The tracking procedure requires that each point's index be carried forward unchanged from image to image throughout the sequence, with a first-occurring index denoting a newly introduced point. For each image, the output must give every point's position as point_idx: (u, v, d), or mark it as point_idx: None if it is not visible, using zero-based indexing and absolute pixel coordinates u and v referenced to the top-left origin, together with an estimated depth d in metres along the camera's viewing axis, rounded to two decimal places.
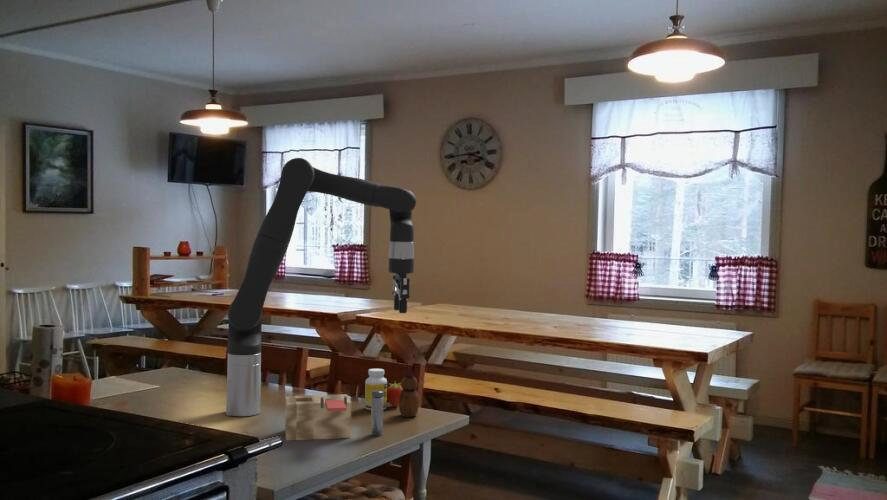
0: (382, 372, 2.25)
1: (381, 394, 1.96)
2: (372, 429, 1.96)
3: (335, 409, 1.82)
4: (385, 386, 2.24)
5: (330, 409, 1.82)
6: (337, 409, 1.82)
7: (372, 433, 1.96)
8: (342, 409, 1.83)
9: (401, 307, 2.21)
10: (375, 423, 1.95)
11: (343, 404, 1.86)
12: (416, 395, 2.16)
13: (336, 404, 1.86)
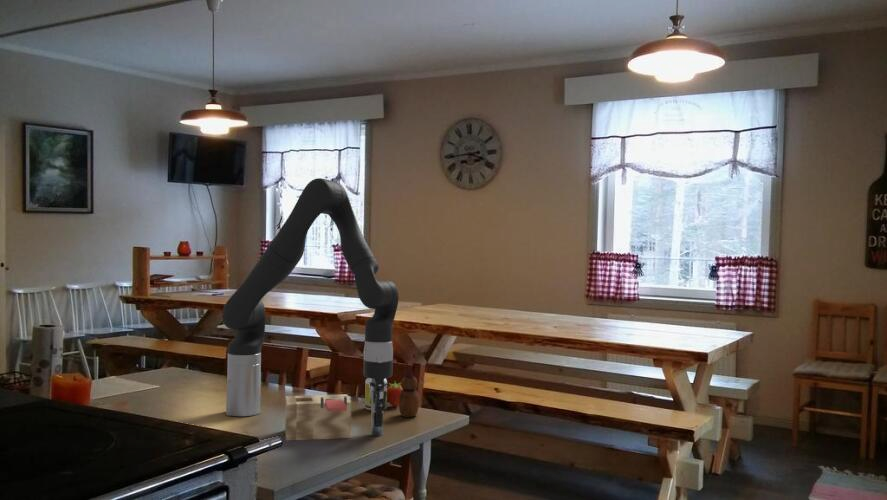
0: None
1: None
2: (372, 429, 1.96)
3: (335, 409, 1.82)
4: None
5: (330, 409, 1.82)
6: (337, 409, 1.82)
7: (372, 433, 1.96)
8: (342, 409, 1.83)
9: (376, 420, 1.94)
10: None
11: (343, 404, 1.86)
12: (416, 395, 2.16)
13: (336, 404, 1.86)
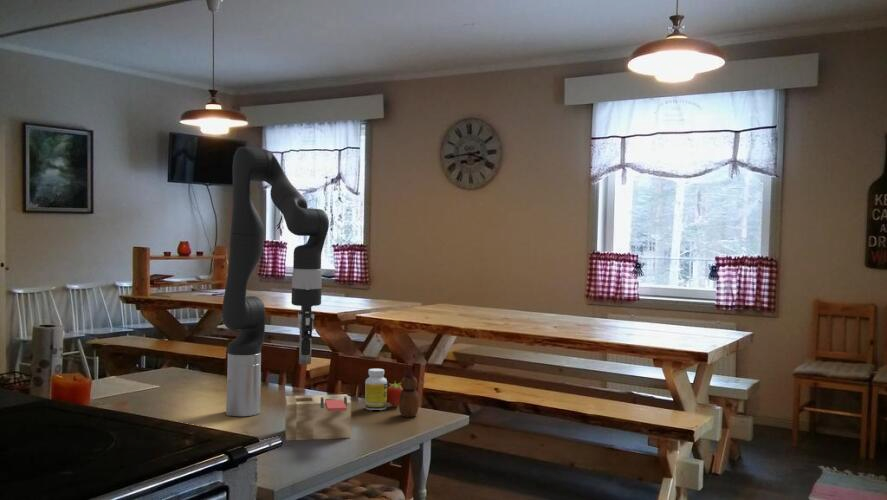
0: (382, 372, 2.24)
1: None
2: (300, 357, 1.94)
3: (335, 409, 1.82)
4: (385, 386, 2.24)
5: (330, 409, 1.82)
6: (337, 409, 1.82)
7: (300, 362, 1.94)
8: (342, 409, 1.83)
9: (303, 348, 1.92)
10: None
11: (343, 404, 1.86)
12: (416, 395, 2.16)
13: (336, 404, 1.86)
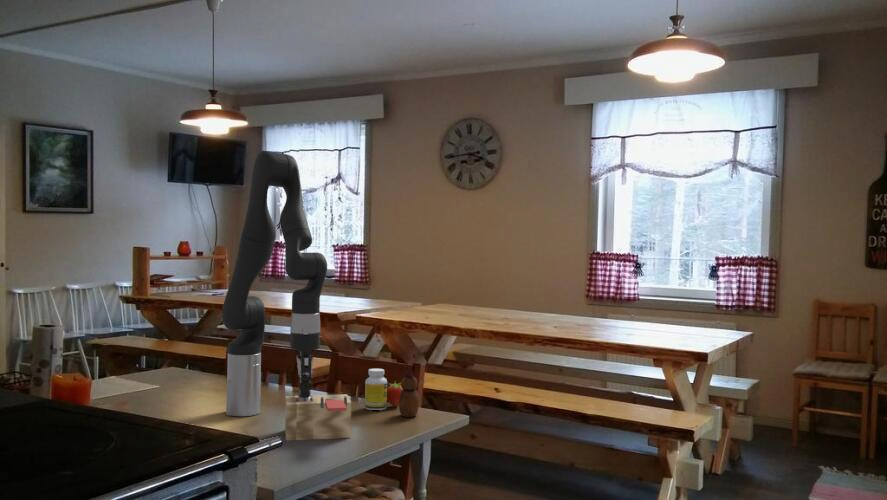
0: (382, 372, 2.25)
1: None
2: None
3: (335, 409, 1.82)
4: (385, 386, 2.24)
5: (330, 409, 1.82)
6: (337, 409, 1.82)
7: None
8: (342, 409, 1.83)
9: (302, 391, 1.90)
10: None
11: (343, 404, 1.86)
12: (416, 395, 2.16)
13: (336, 404, 1.86)
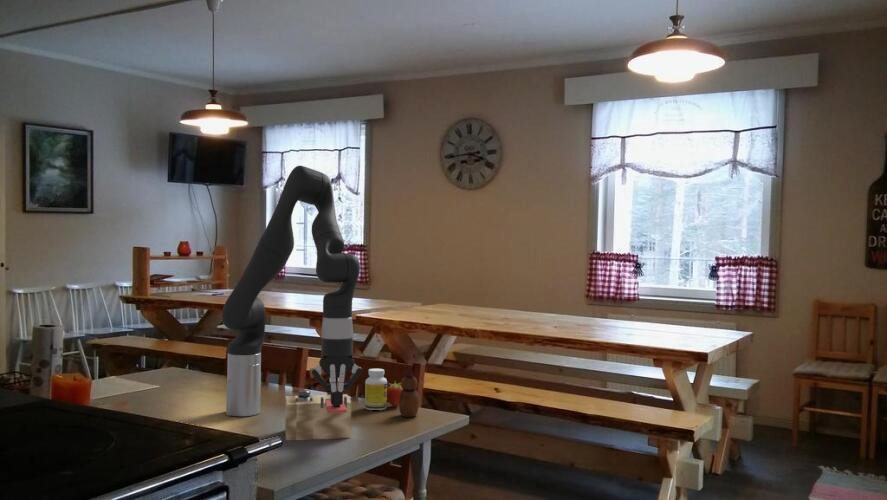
0: (382, 372, 2.25)
1: (307, 394, 1.94)
2: None
3: (335, 411, 1.82)
4: (385, 386, 2.24)
5: (330, 411, 1.82)
6: (337, 411, 1.82)
7: None
8: (342, 411, 1.83)
9: None
10: None
11: (343, 405, 1.86)
12: (416, 395, 2.16)
13: None
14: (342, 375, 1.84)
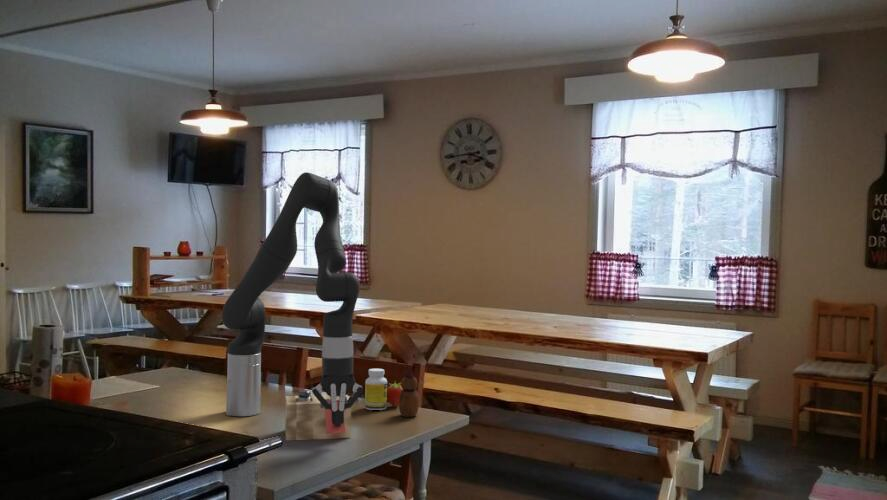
0: (382, 372, 2.25)
1: (308, 394, 1.94)
2: None
3: (334, 432, 1.85)
4: (385, 386, 2.24)
5: (329, 432, 1.84)
6: (336, 432, 1.85)
7: None
8: (341, 432, 1.85)
9: None
10: None
11: None
12: (416, 395, 2.16)
13: None
14: (343, 394, 1.84)
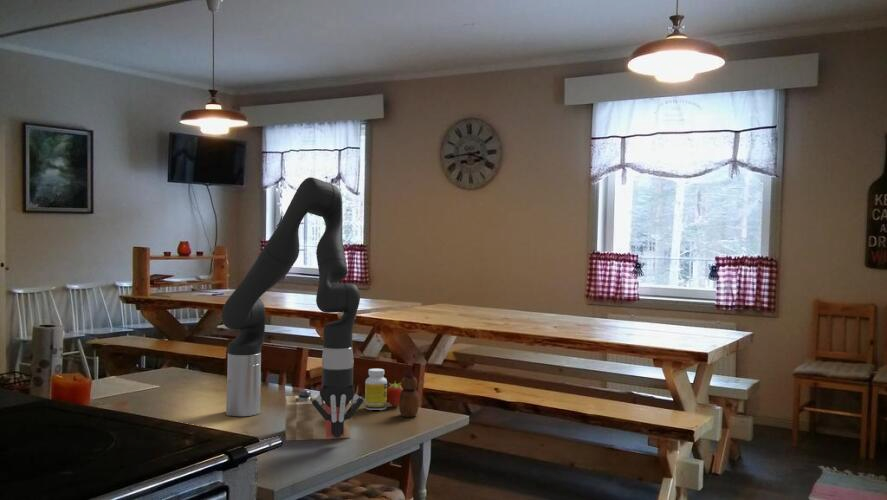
0: (382, 372, 2.25)
1: (308, 394, 1.94)
2: None
3: (333, 436, 1.86)
4: (385, 386, 2.24)
5: (328, 436, 1.86)
6: None
7: None
8: None
9: (331, 429, 1.85)
10: None
11: None
12: (416, 395, 2.16)
13: None
14: (342, 405, 1.84)
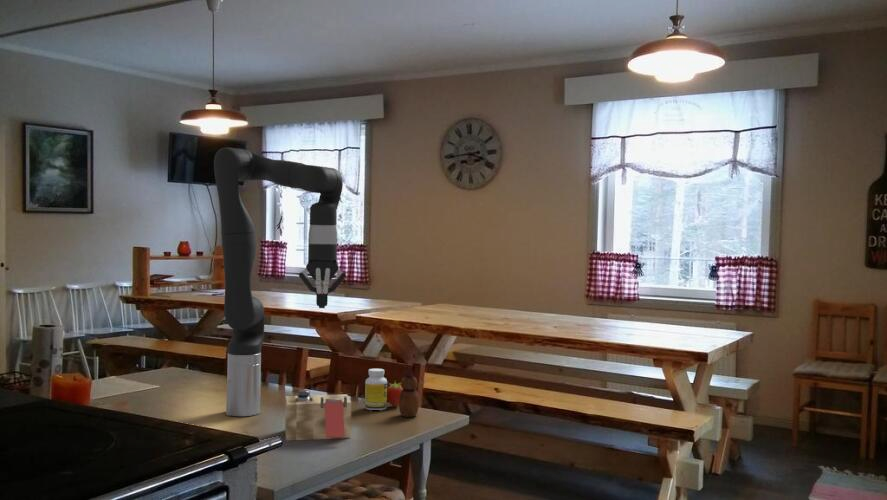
0: (382, 372, 2.25)
1: (307, 394, 1.94)
2: None
3: (333, 436, 1.86)
4: (385, 386, 2.24)
5: (328, 436, 1.86)
6: (335, 436, 1.86)
7: None
8: (340, 436, 1.86)
9: (316, 301, 2.02)
10: None
11: (342, 422, 1.88)
12: (416, 395, 2.16)
13: (335, 421, 1.88)
14: (327, 278, 2.00)
